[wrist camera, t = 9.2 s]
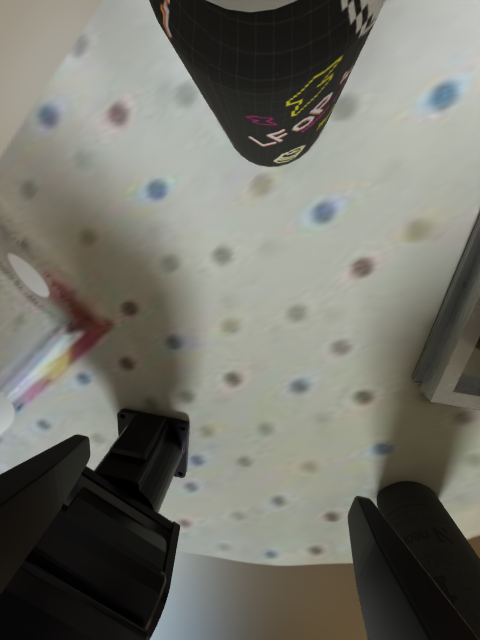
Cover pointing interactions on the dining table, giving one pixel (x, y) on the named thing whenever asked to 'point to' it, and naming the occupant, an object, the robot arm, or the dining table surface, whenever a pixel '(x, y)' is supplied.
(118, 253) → the dining table surface
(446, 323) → the frame
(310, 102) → the beverage can
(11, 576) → the robot arm
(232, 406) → the dining table surface
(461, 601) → the drinking cup
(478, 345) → the wooden block
